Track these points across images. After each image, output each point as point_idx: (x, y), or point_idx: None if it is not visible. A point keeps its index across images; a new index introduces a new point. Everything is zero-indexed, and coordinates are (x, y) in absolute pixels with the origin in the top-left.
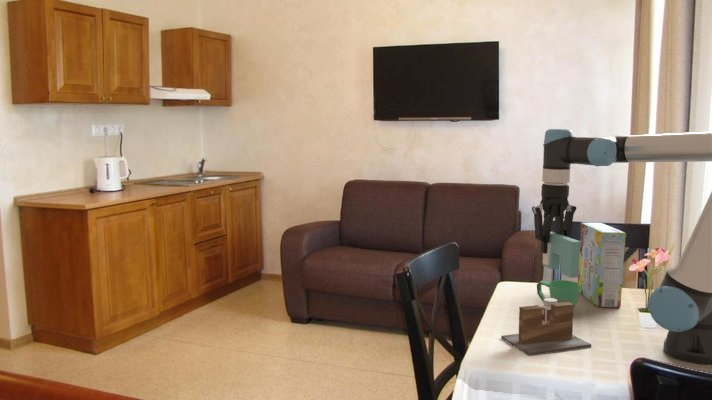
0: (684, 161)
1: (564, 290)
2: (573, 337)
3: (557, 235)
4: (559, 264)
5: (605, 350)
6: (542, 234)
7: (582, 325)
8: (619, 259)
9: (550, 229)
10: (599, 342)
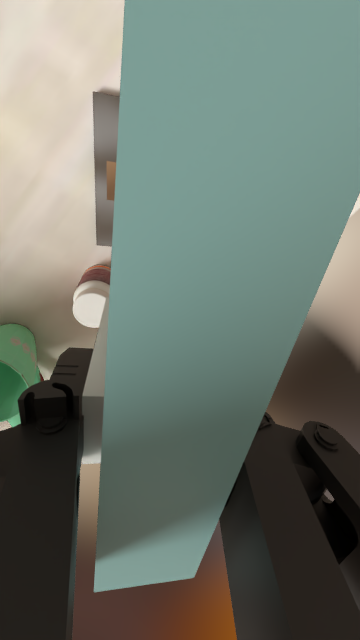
0: None
1: (4, 355)
2: (106, 170)
3: (202, 439)
4: (108, 298)
5: (68, 40)
6: (356, 490)
7: (11, 256)
8: None
9: (286, 595)
10: (43, 116)
